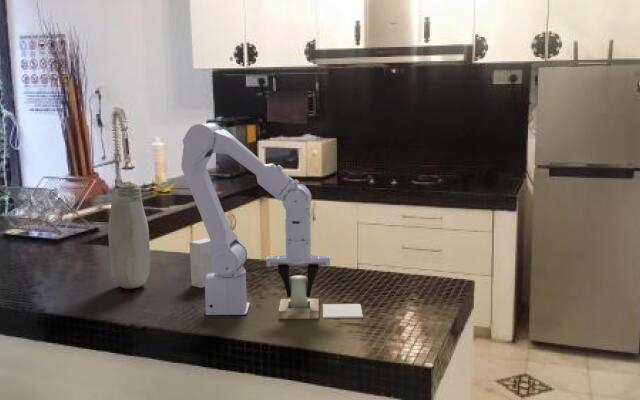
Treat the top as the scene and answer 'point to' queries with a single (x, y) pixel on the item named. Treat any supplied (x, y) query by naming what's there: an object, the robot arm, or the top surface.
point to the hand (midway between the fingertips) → (298, 296)
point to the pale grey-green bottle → (128, 237)
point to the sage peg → (298, 292)
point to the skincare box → (200, 261)
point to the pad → (342, 311)
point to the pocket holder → (299, 310)
